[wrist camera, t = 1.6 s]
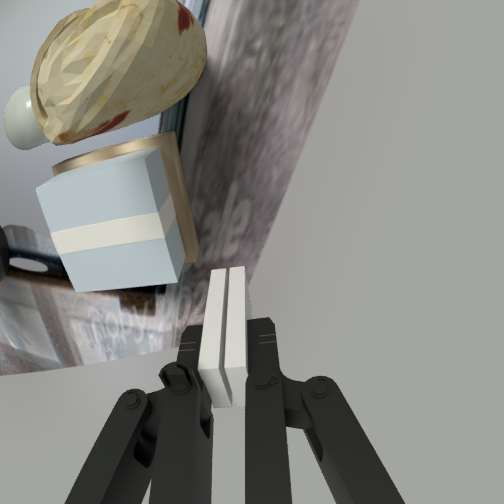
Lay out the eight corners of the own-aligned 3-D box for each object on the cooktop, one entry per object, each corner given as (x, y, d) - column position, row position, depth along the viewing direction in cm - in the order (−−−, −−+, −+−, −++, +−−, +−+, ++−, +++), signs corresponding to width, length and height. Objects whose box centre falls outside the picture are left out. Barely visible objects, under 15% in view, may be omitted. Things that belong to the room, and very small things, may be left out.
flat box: (92, 267, 34) (75, 292, 29) (60, 173, 28) (34, 189, 23) (186, 255, 33) (178, 282, 29) (160, 146, 27) (144, 158, 23)
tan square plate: (98, 262, 37) (89, 275, 34) (64, 160, 30) (51, 167, 27) (200, 248, 36) (196, 262, 34) (174, 130, 29) (168, 134, 27)
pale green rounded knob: (46, 143, 29) (11, 157, 22) (36, 94, 25) (-1, 100, 19) (88, 127, 28) (55, 138, 22) (78, 75, 25) (44, 75, 19)
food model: (167, 128, 29) (69, 189, 12) (122, 92, 27) (-13, 114, 9) (232, 58, 26) (214, 5, 8) (184, 21, 23) (103, -59, 6)
